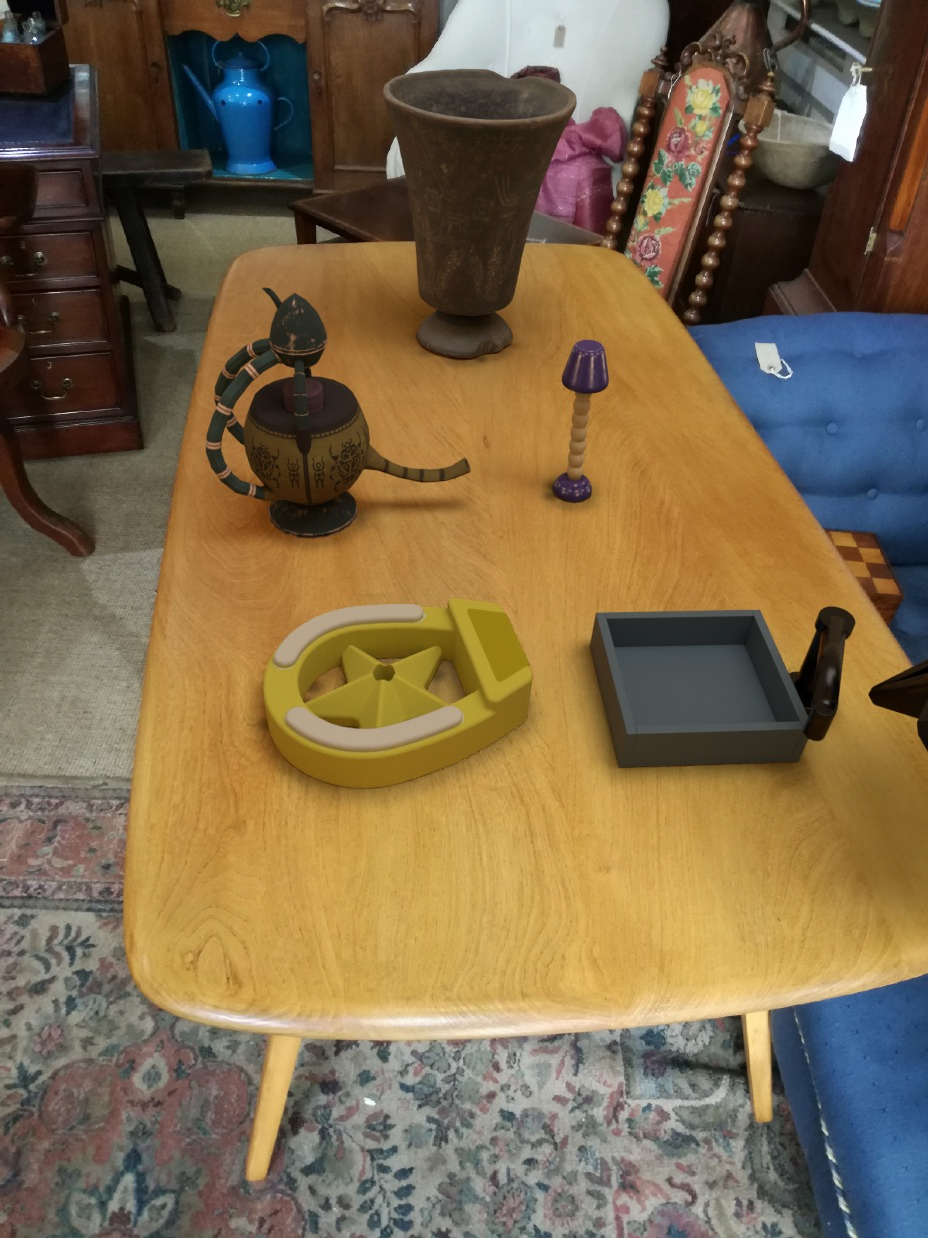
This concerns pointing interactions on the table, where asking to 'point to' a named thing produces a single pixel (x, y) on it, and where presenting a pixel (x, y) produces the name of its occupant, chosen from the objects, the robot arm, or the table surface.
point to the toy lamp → (581, 413)
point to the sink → (696, 689)
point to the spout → (828, 669)
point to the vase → (473, 191)
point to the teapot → (300, 430)
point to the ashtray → (395, 690)
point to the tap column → (807, 674)
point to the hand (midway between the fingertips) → (872, 696)
